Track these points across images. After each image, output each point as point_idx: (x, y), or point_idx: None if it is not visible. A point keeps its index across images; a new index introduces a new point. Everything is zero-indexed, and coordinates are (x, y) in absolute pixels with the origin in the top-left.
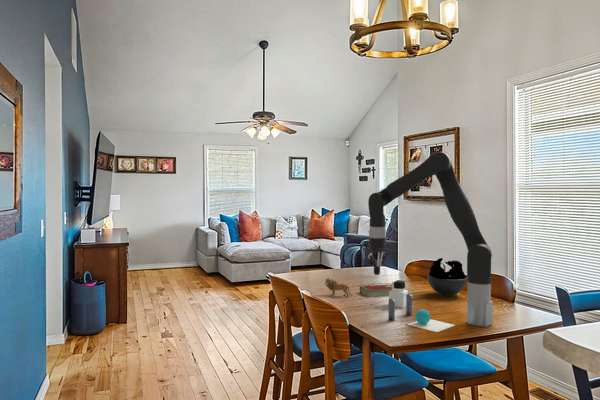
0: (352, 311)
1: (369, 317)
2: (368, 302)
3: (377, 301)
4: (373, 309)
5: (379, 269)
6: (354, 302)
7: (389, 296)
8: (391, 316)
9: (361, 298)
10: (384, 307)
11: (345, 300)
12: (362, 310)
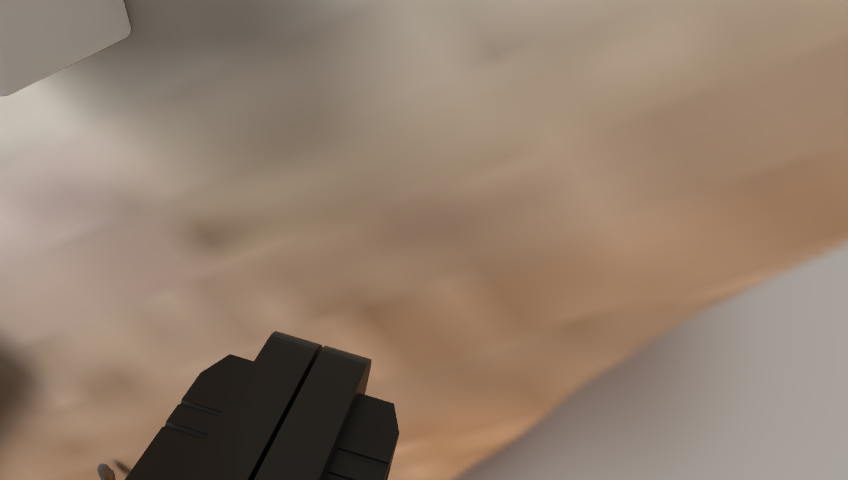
0: (623, 298)
1: (815, 25)
2: (167, 283)
3: (62, 221)
4: (395, 134)
5: (227, 444)
6: None
7: (55, 65)
8: None
9: (92, 382)
10: (223, 57)
11: None
12: (517, 224)
